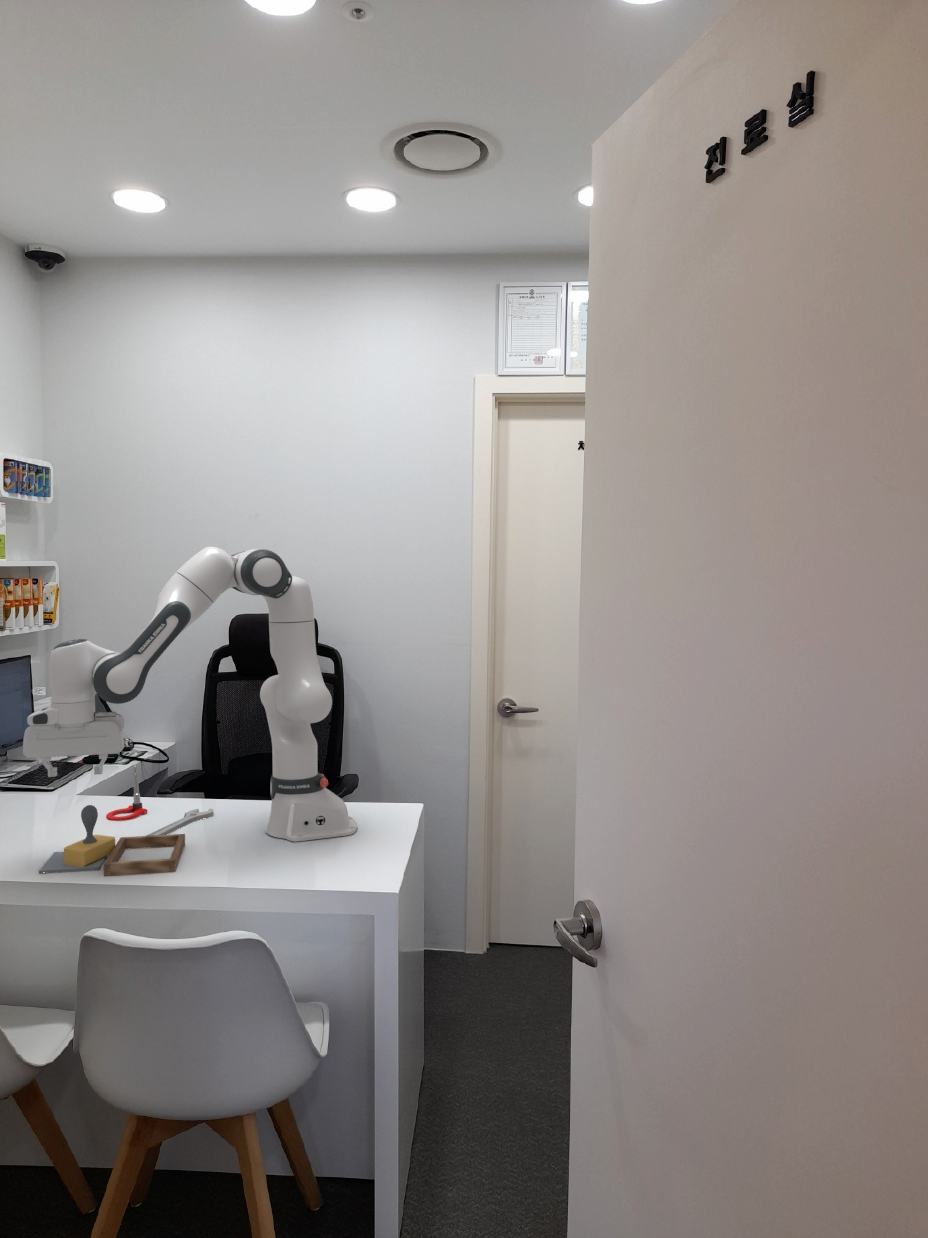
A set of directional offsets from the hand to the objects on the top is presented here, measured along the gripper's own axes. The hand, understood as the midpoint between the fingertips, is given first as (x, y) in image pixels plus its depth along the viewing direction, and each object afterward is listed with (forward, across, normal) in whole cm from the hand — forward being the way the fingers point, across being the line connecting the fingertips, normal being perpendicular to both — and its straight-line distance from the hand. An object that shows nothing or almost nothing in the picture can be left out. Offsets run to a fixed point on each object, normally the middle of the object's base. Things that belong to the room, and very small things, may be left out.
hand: (75, 775), depth 182 cm
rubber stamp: (+19, -2, 0) cm, 19 cm away
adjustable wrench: (+21, -18, -23) cm, 36 cm away
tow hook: (+20, -3, -35) cm, 40 cm away
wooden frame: (+20, -14, +1) cm, 25 cm away
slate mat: (+20, 0, 0) cm, 20 cm away
